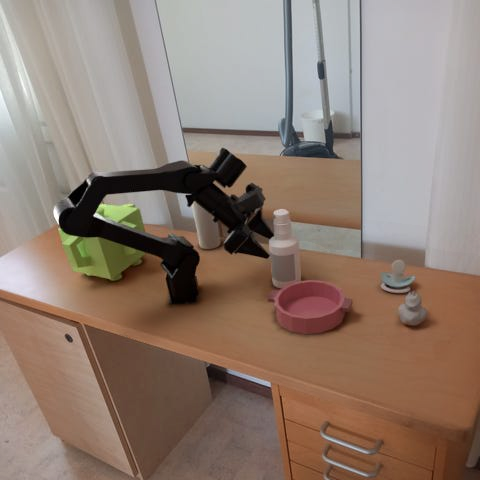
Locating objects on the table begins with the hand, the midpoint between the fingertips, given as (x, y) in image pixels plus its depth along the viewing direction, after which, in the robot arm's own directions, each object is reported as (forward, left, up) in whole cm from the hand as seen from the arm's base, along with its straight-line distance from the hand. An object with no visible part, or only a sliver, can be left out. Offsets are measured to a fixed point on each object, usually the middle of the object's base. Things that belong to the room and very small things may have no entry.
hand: (271, 247), depth 113 cm
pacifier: (+27, -7, -10) cm, 30 cm away
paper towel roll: (-17, +25, -10) cm, 31 cm away
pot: (+7, -14, -9) cm, 19 cm away
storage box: (-44, +17, -10) cm, 48 cm away
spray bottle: (+3, 0, -10) cm, 10 cm away
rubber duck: (+27, -20, -10) cm, 35 cm away
